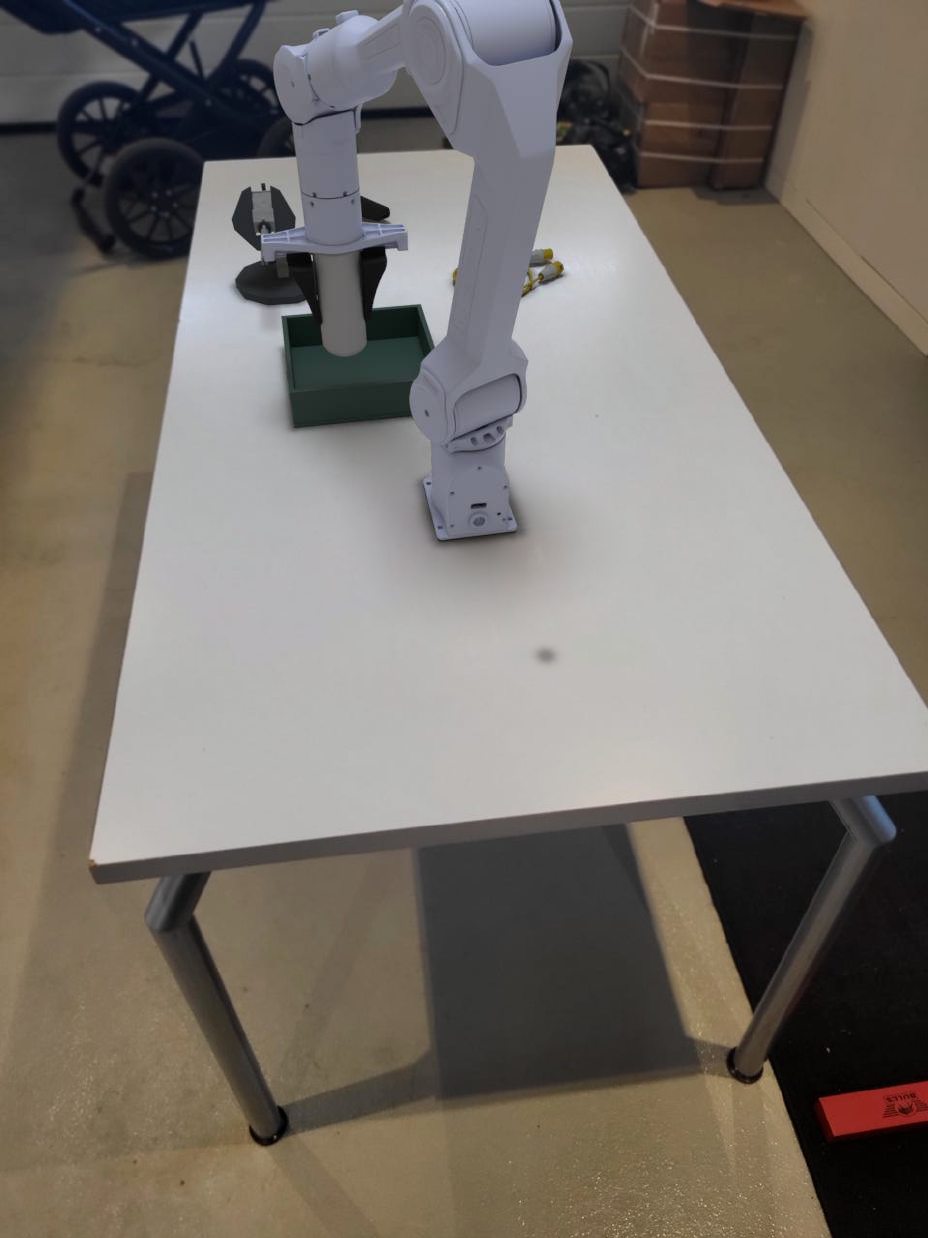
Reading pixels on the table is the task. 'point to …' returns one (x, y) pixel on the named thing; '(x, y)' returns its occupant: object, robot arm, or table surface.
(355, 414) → the open storage bin
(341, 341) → the beverage can
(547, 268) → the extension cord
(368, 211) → the electric trimmer
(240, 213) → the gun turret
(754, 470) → the table surface
